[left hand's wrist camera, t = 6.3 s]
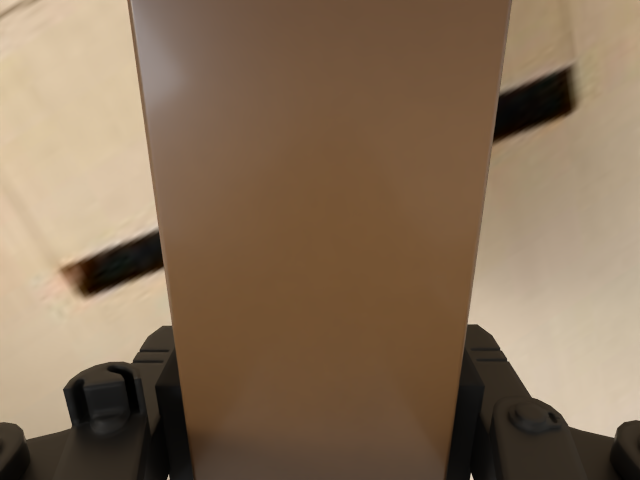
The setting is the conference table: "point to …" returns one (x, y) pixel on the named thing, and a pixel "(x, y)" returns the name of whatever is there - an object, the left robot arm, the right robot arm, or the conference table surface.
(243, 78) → the bar
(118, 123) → the conference table surface
